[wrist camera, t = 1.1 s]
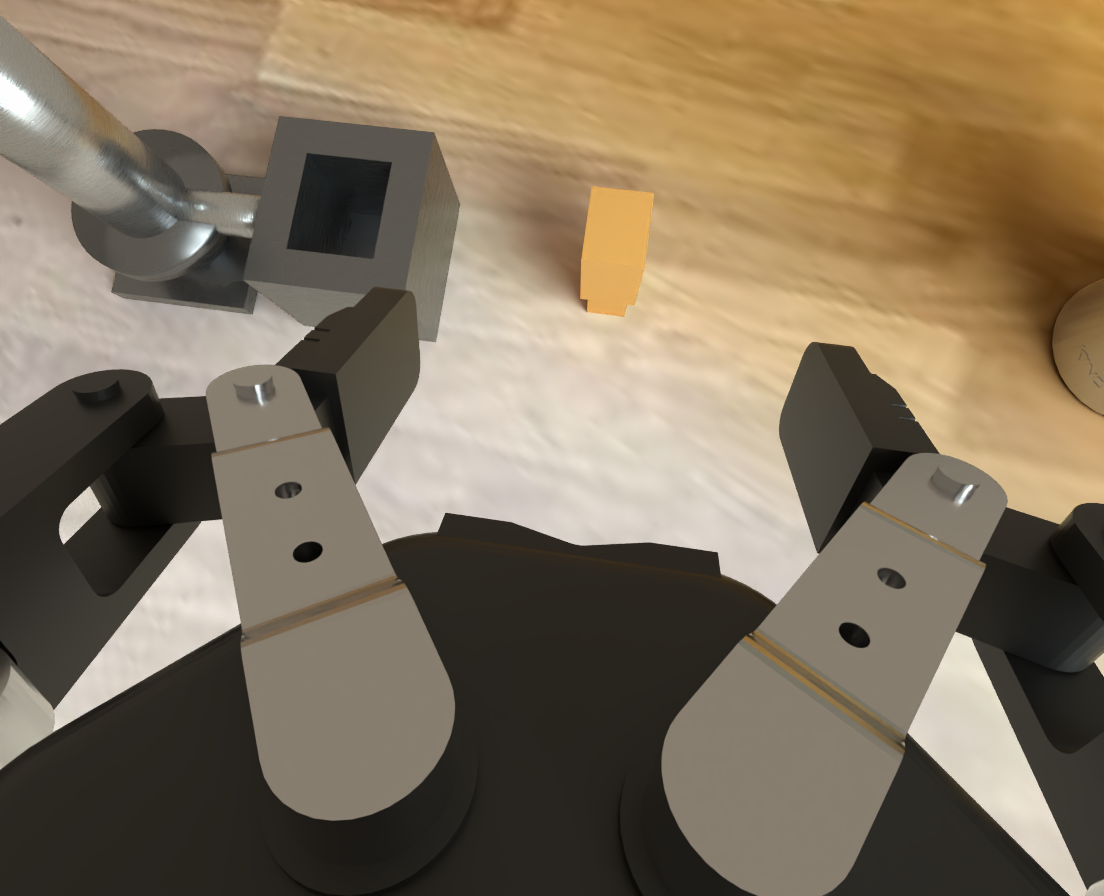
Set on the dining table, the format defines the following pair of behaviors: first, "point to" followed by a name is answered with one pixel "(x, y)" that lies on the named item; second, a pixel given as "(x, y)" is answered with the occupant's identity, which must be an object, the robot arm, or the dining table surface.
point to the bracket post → (236, 203)
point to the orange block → (614, 249)
